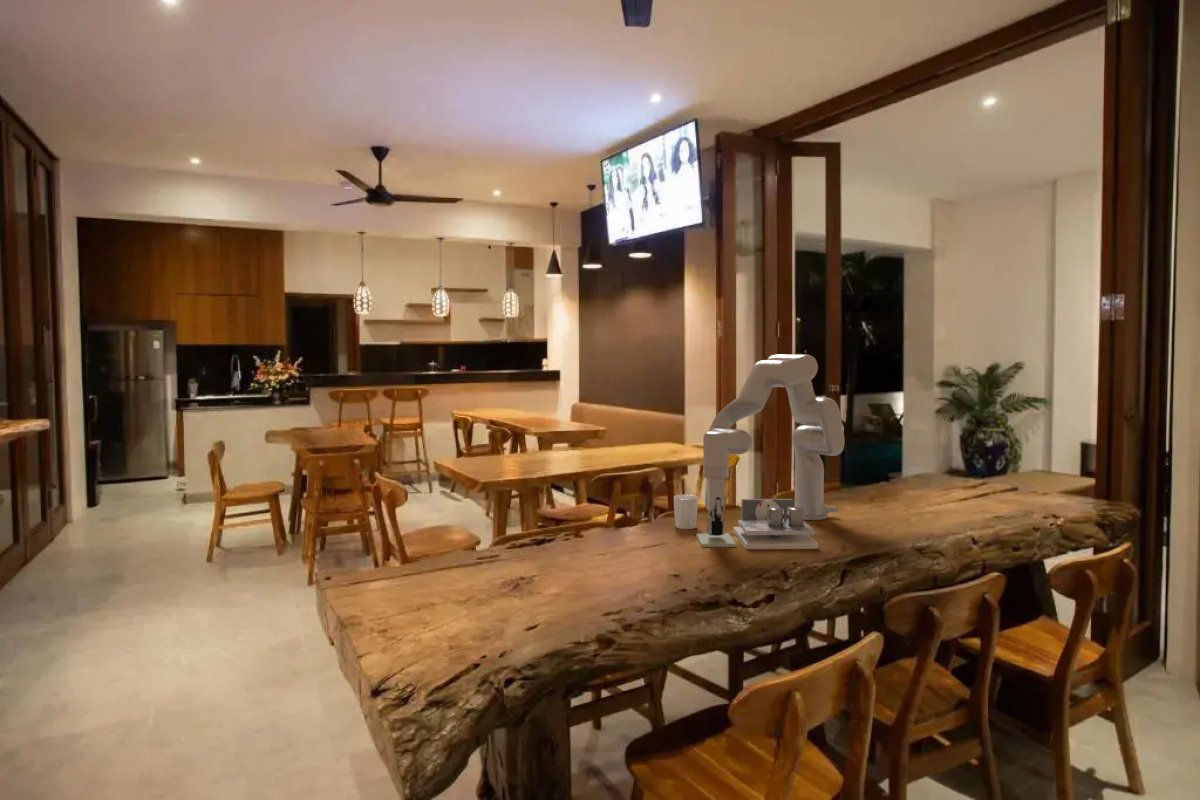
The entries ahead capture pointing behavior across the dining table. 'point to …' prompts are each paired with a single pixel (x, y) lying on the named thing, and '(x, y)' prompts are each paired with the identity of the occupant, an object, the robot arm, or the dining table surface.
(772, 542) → the scale housing
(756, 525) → the scale pan
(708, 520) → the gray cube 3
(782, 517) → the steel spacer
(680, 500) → the white cup
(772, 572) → the dining table surface
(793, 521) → the steel spacer
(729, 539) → the green pad
